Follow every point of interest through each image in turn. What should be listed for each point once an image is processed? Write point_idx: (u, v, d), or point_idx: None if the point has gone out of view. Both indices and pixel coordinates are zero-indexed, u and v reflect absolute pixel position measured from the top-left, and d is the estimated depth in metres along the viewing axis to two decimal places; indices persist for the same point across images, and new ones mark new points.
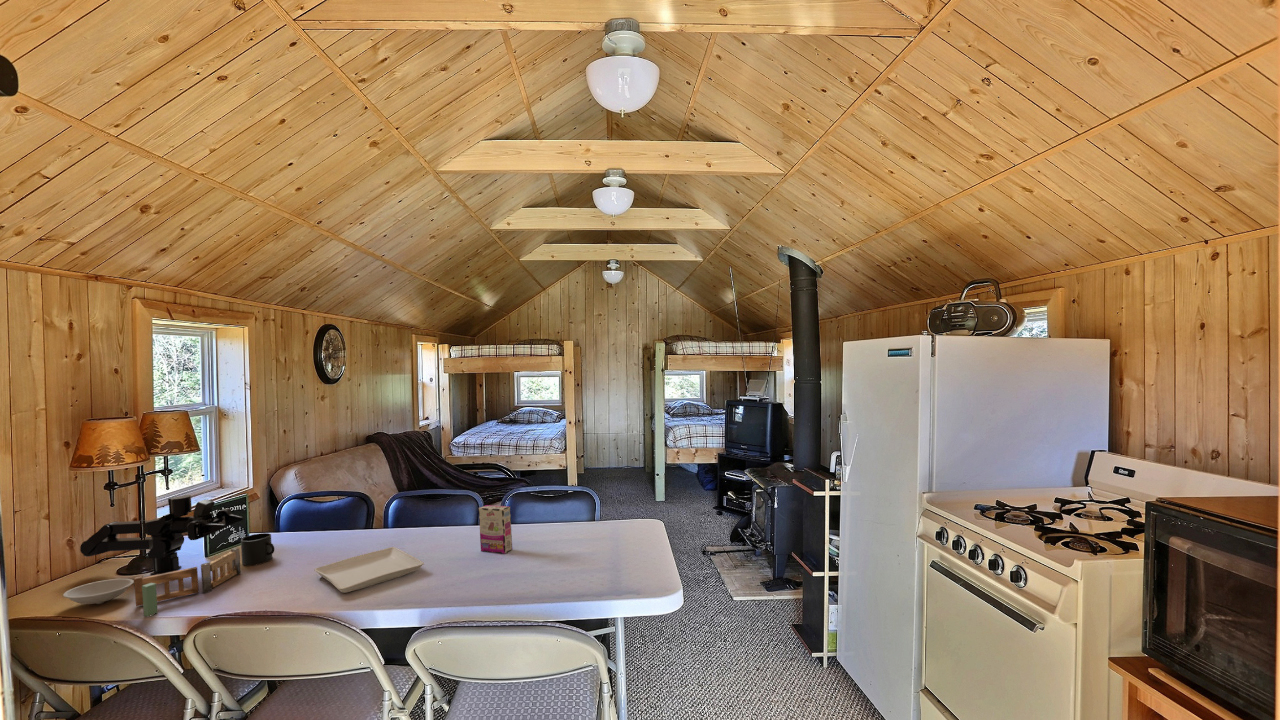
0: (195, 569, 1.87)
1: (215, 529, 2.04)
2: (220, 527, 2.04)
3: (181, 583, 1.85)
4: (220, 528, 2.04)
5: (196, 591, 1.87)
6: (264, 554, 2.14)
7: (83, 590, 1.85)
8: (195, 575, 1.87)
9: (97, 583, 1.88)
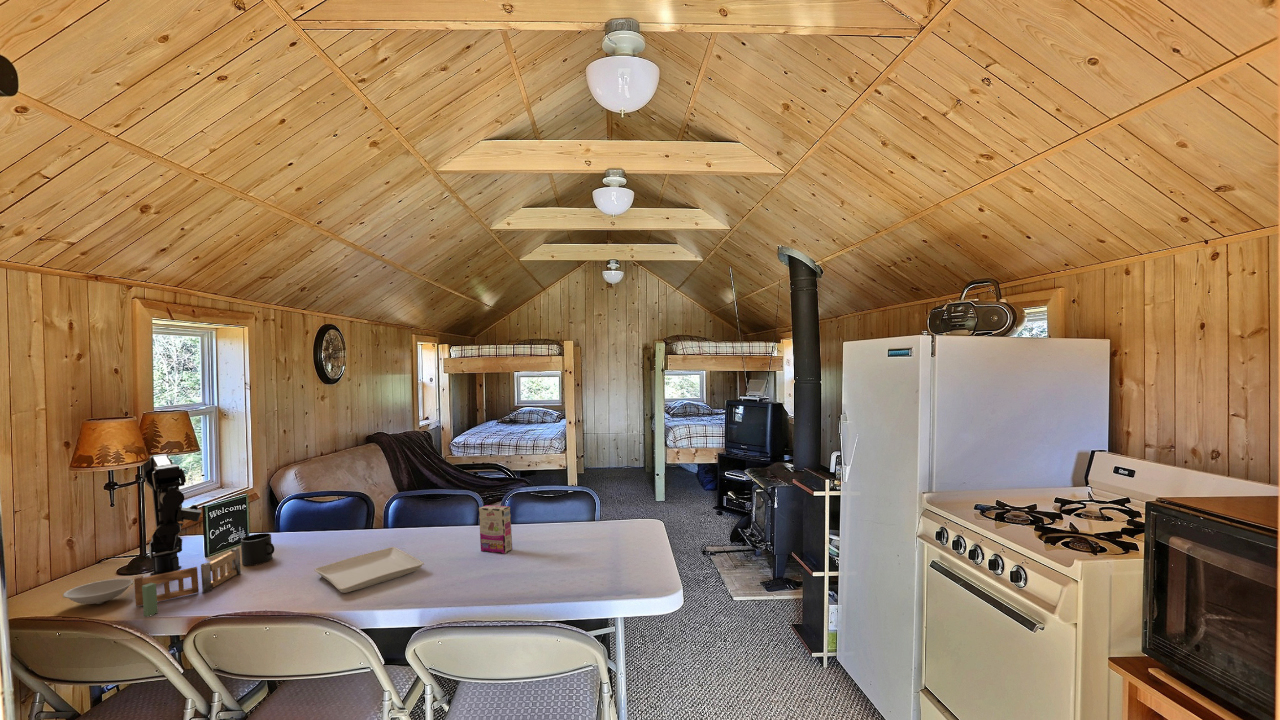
0: (195, 569, 1.87)
1: (167, 544, 1.93)
2: (170, 547, 1.93)
3: (181, 583, 1.85)
4: (169, 547, 1.93)
5: (196, 591, 1.87)
6: (264, 554, 2.14)
7: (83, 590, 1.85)
8: (195, 575, 1.87)
9: (97, 583, 1.88)
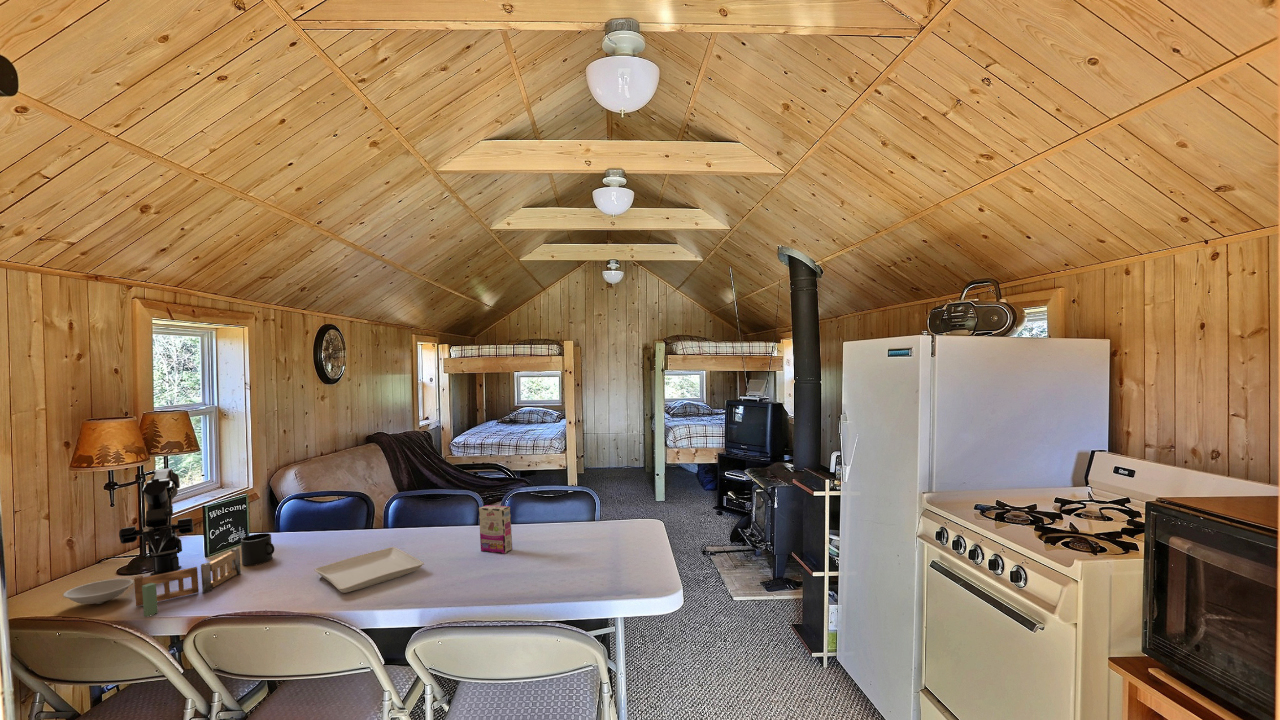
0: (195, 569, 1.87)
1: (152, 547, 1.90)
2: (154, 550, 1.89)
3: (181, 583, 1.85)
4: (154, 550, 1.89)
5: (196, 591, 1.87)
6: (264, 554, 2.14)
7: (83, 590, 1.85)
8: (195, 575, 1.87)
9: (97, 583, 1.88)
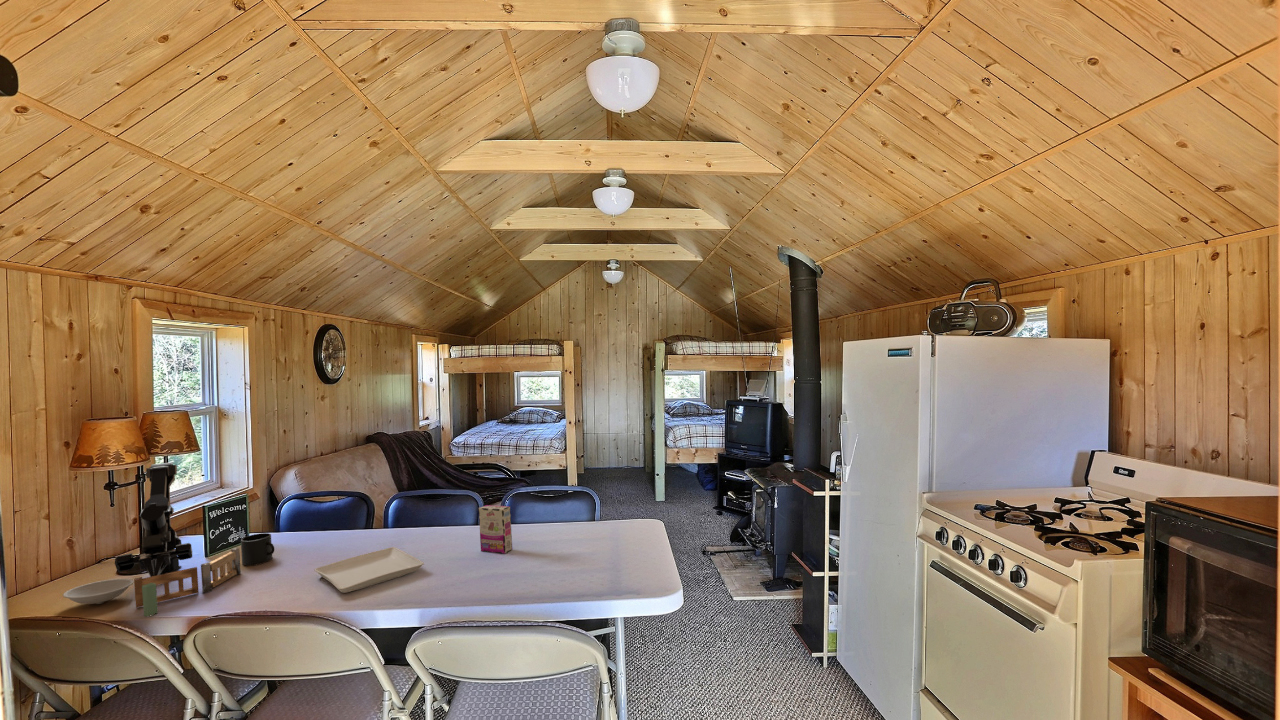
0: (195, 569, 1.87)
1: None
2: None
3: (182, 584, 1.85)
4: None
5: (196, 591, 1.87)
6: (264, 554, 2.14)
7: (83, 590, 1.85)
8: (195, 575, 1.86)
9: (97, 583, 1.88)
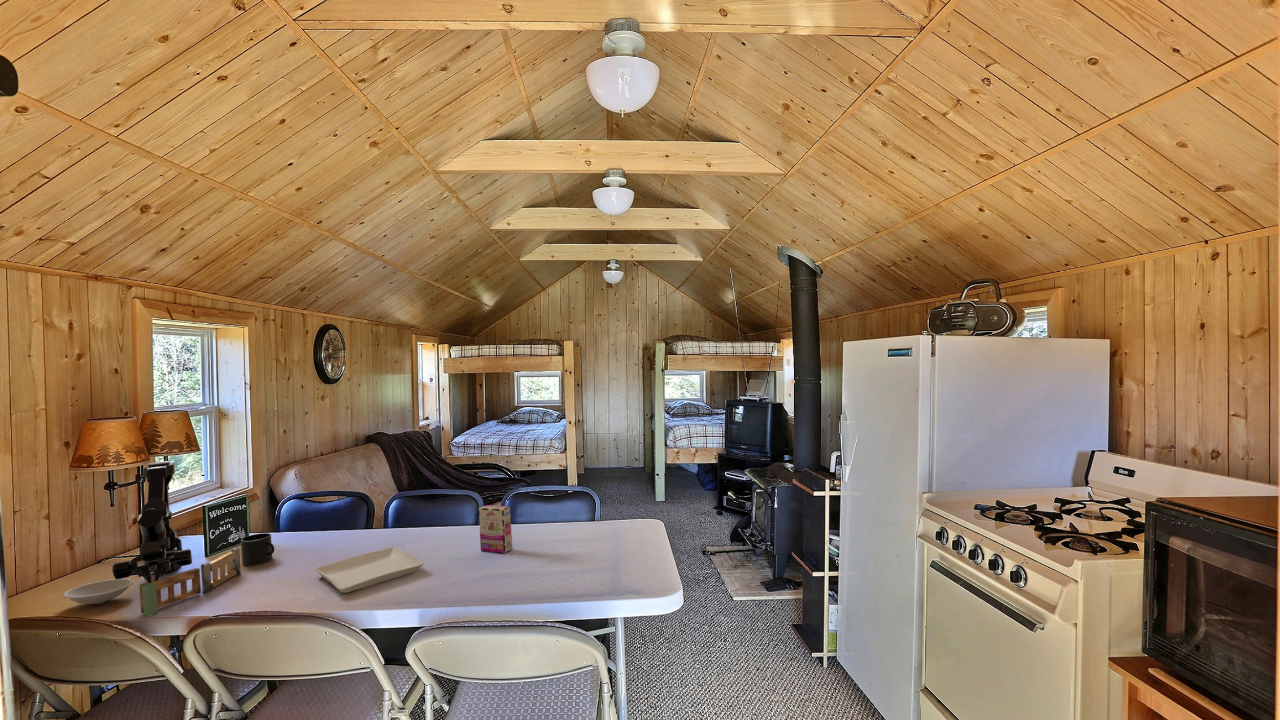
0: (198, 569, 1.86)
1: None
2: None
3: (185, 585, 1.83)
4: None
5: (199, 592, 1.86)
6: (264, 554, 2.14)
7: (83, 590, 1.85)
8: (198, 576, 1.86)
9: (97, 583, 1.88)
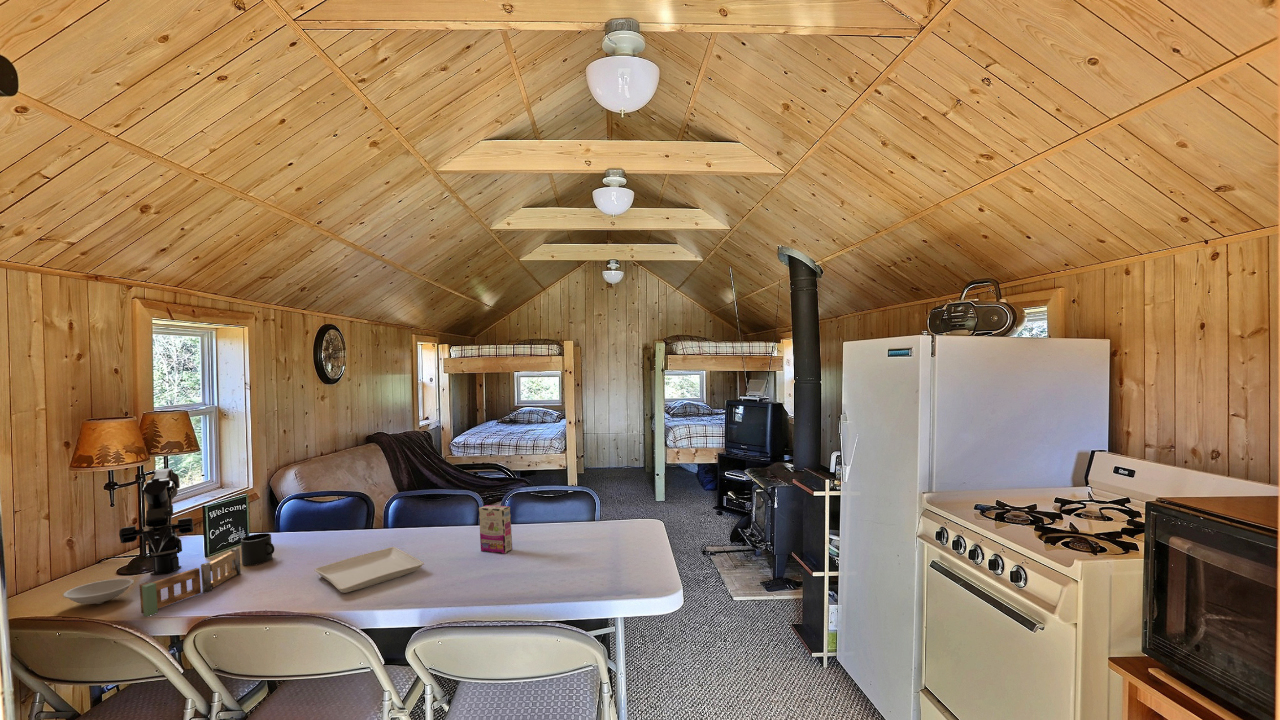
0: (198, 569, 1.86)
1: (152, 547, 1.90)
2: (154, 549, 1.89)
3: (185, 585, 1.83)
4: (154, 550, 1.89)
5: (199, 592, 1.86)
6: (264, 554, 2.14)
7: (83, 590, 1.85)
8: (198, 576, 1.86)
9: (97, 583, 1.88)
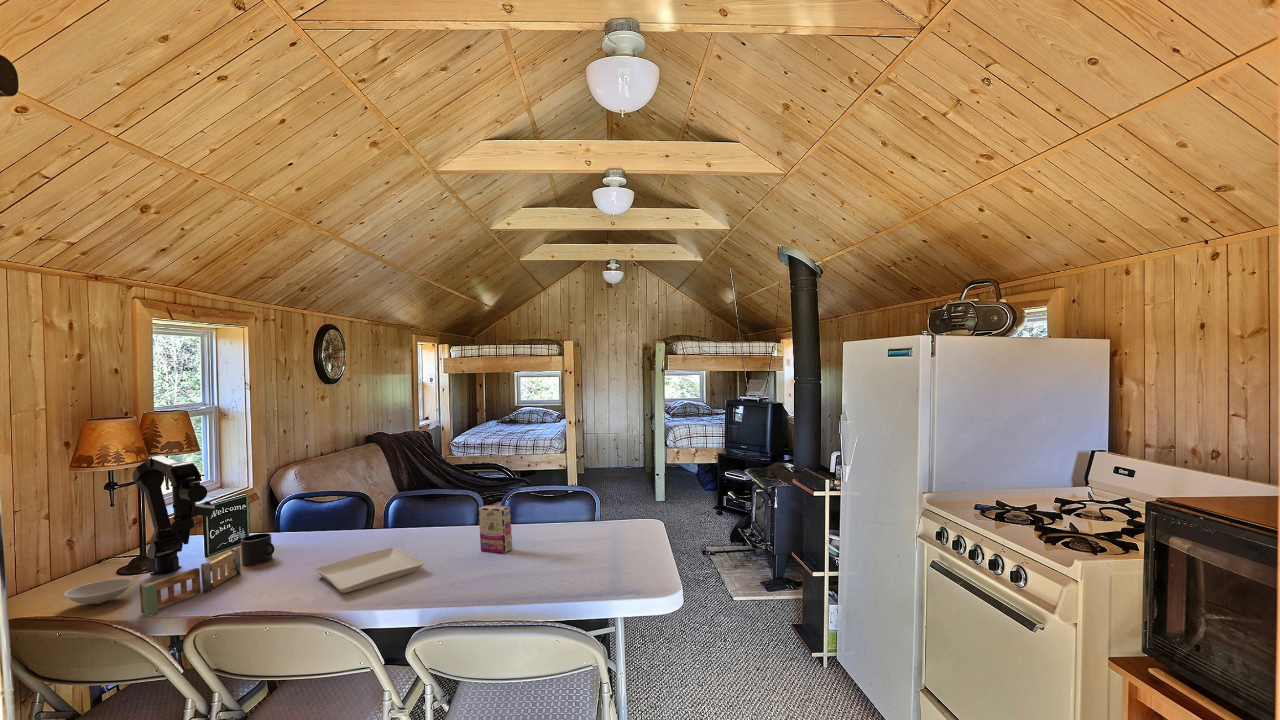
0: (198, 569, 1.86)
1: (182, 537, 2.00)
2: (185, 540, 2.00)
3: (185, 585, 1.83)
4: (184, 541, 2.00)
5: (199, 592, 1.86)
6: (264, 554, 2.14)
7: (83, 590, 1.85)
8: (198, 576, 1.86)
9: (97, 583, 1.88)
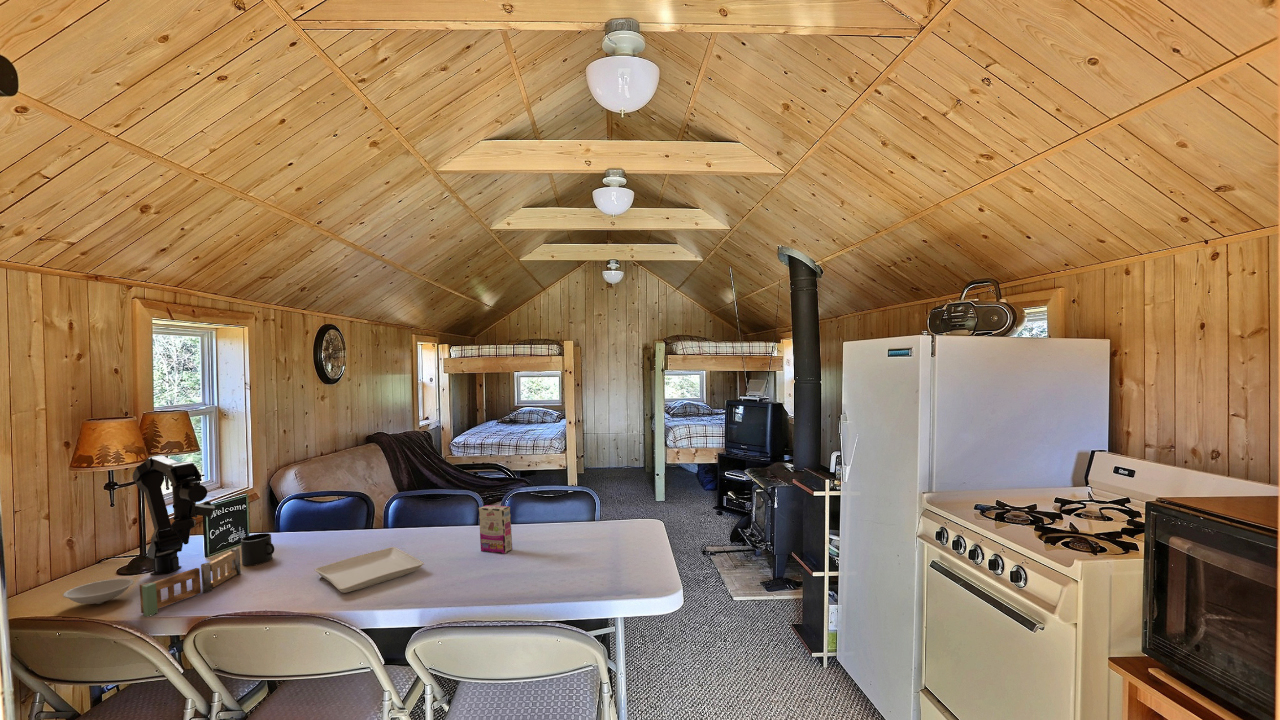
0: (198, 569, 1.86)
1: (182, 537, 2.00)
2: (185, 540, 2.00)
3: (185, 585, 1.83)
4: (184, 541, 2.00)
5: (199, 592, 1.86)
6: (264, 554, 2.14)
7: (83, 590, 1.85)
8: (198, 576, 1.86)
9: (97, 583, 1.88)
